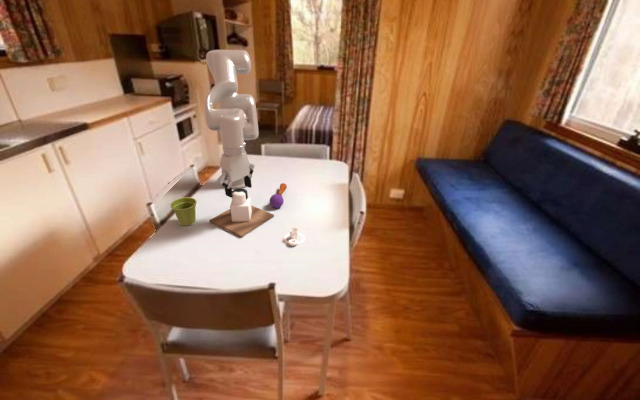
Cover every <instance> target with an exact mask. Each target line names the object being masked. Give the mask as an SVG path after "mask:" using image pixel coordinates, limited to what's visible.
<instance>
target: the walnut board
mask: <svg viewBox="0 0 640 400" xmlns="http://www.w3.org/2000/svg"><path fill="white" fill-rule="evenodd" d="M251 207H252V214H251V219H250V221H240V222H232V218H231V211H230V208H229V209H227V210H225V211H223V212H221V213H220V214H218V215H216V216H214V217H212V218H210V219H209V223H211V224H213V225H214V226H217V227H218V228H221V229H223V230H225V231H227V232H229V233H231V234H233V235H235V236H237V237H239V238H244V237H245V236H247V235H248V234H250V233H252V232H253V231H254V230H255V229H257V228H260V227H261V226H262V225H263V224H265V223H267V222H269V220H271V219H273V218H274V217H275V215H274V214H273V213H271V212H268V211H266V210H264V209H261V208H259V207H256V206H254V205H253V204H251Z"/></svg>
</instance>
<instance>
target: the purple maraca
mask: <svg viewBox="0 0 640 400" xmlns="http://www.w3.org/2000/svg"><path fill="white" fill-rule="evenodd" d="M286 189H287V184H286V183H284V182H282V183H280V185H279V188H278V190H279V191H278V192H277V193H275V194H272V195H271V196H270V198H269V204H270V206H271V207H272V208H274V209H279V208H281V207H282V206H283V204H284V198H283V195H282V194H283V193H284V192H285V191H286Z"/></svg>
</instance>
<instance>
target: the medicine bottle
mask: <svg viewBox="0 0 640 400" xmlns="http://www.w3.org/2000/svg"><path fill="white" fill-rule="evenodd" d="M232 194H233V197H232V198H231V203H230V206H229V209H230V211H231V218H232V222H240V221H250V219H251V214H252V207H251V205H252V198H251V197H249V195H248V190H247V189H245V188H239V189H232Z"/></svg>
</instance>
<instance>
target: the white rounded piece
mask: <svg viewBox="0 0 640 400" xmlns="http://www.w3.org/2000/svg"><path fill="white" fill-rule="evenodd" d="M299 236H301V240H300V241H298V237H299ZM288 237H289V238H290V239H288V240H287V238H288ZM305 240H306V236H305V235H304V234H303V233H301V232H299V228H297V227H292V228H290V229H289V232H288V233H286V234H284V236H283V241H284V243H286V244H288V245H289V246H294V247H295V246H298V245H301V244H302V243H304V242H305Z"/></svg>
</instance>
